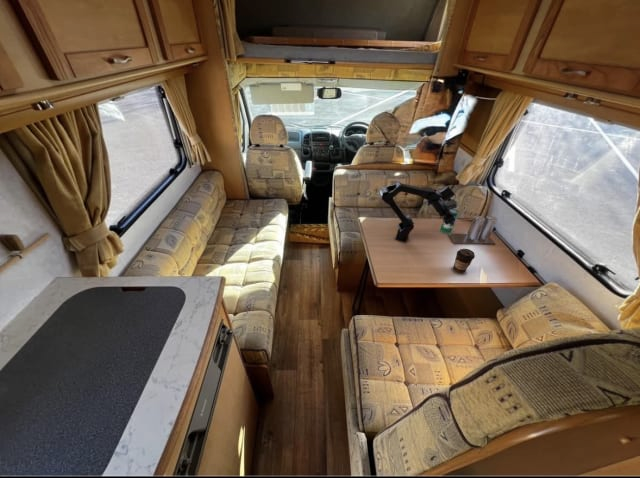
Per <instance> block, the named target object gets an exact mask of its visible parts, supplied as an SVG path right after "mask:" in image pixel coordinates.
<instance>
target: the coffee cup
mask: <svg viewBox="0 0 640 478" xmlns="http://www.w3.org/2000/svg"><path fill="white" fill-rule="evenodd" d="M474 259H476V255H475V252H474V251H473V250H471V249H468V248H460V249H459V250H457V251H456V256H455V259H454V263H453V267H452V271H453V272H454V273H456V274H458V275H465V274H466V271H467V269H468V268H469V266H470V265H471V263H472V262H473V260H474Z"/></svg>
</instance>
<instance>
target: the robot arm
mask: <svg viewBox="0 0 640 478" xmlns="http://www.w3.org/2000/svg"><path fill="white" fill-rule="evenodd" d="M400 193H404V194H405V193H406V194H410V195H414V196H418V197H420V198H423V200H426V202H425V204H426V206H427V207H429V206H432V208H433V209H434V210H435V211H436V213H437V214H438V215H439V216H440V217H443V218H442V222H443V221H444V223H445V224H446V225H448V224H451V225H454V226H455V224H454V222H453V221H454V220H456V221H457V219H456V218H455V216H454V215H453V214H452V213H450V214H449V213H448V212H449V211H450V210H449V209H457V208H458V202H457V201H456V199H454V198H453V197H454V196H456V193H455V192H454V191H453V190H452V189H451V188H450V186H449V185H446V186H445V187H444V188H443V189H442V190H438V189H434V188H432V187H431V186H430V187H429V186H424V187H419V186H415V185H411V184H406V183H402V182H396V183H394V184H390V185H388V186H385V187H382V188H381V189H380V191H379V195H380V198H381V199H382V201H383V202H385V204H387V205H389V207H390V208H391V209H392V211H393V212H394V213H395V215H396V216H397V217H398V219H399V220H400V222H399V223H397V227H398V229H397V231H396V235H395V238H394V239H395V240H396V241H398V242H399V241H400V242H403V243H406V242H407V241H408V239H409V235H410V234H411V232H412V230H414V228H415V222H414V221H413V218H412V217H411V216H410V214H407V215H406V214H405V213H404V212H403V210H402V208H401V207H400V206H399V205H398V203H397V202H396V200H395V199H394V198H396V196H397V195H398V194H400ZM452 198H453V199H452ZM444 201H445V202H444Z"/></svg>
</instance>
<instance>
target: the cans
mask: <svg viewBox="0 0 640 478" xmlns="http://www.w3.org/2000/svg"><path fill="white" fill-rule="evenodd" d="M497 221H498V218H497V217H495V216H493V215H486V217H483V216H481V215H474V216H473V218H472V220H471V223H470V225H469V227H468V230H467V233H466V234H467V235H466V239H468V240H470V241H475V240H476V238H478V239H479V240H481V241H487V240H488V239H489V237H490V236H491V234H492V232H493V231H494V228H495V226H496V224H497ZM477 236H478V237H477Z"/></svg>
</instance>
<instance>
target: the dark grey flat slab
mask: <svg viewBox="0 0 640 478" xmlns="http://www.w3.org/2000/svg"><path fill="white" fill-rule="evenodd" d="M466 235H467V233H451V234H448V237H449V238H450V240H451V241H452V242H453V244H454V245H485V246H486V245H487V246H489V245H492V246H495V244H496V242H495V241H494V240H493V239H492V238H491V237H490V236H489V239H488V240H487V241H481V240H479V239H478V238H476V240H475V241H470V240H468V239H466ZM477 237H478V236H477Z"/></svg>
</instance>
